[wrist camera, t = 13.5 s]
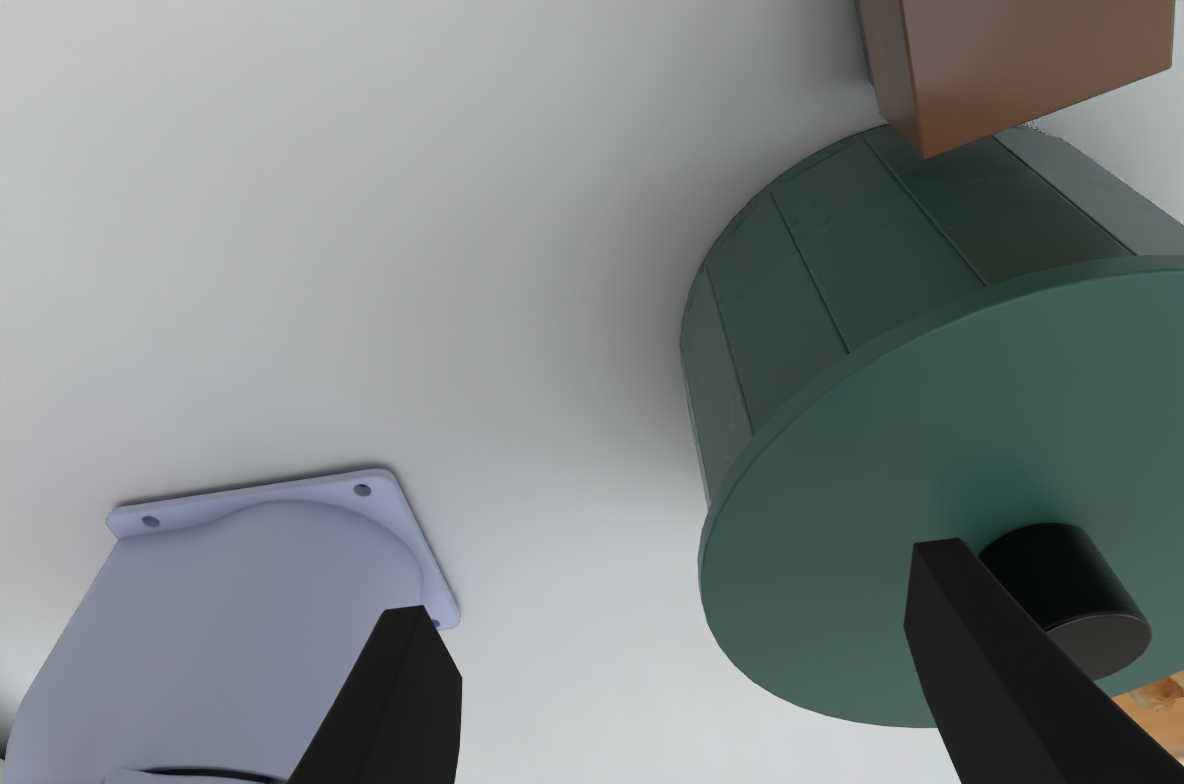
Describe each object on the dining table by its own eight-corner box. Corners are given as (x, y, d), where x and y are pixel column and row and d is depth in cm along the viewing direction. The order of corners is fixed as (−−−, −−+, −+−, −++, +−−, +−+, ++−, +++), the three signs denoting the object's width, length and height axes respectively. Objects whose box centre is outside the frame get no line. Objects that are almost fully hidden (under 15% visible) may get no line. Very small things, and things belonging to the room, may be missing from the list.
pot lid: (718, 712, 20) (738, 840, 18) (656, 308, 12) (677, 437, 10) (1231, 653, 19) (1329, 782, 16) (1521, 164, 11) (1789, 271, 9)
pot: (700, 502, 25) (740, 723, 19) (654, 165, 18) (694, 350, 12) (1070, 450, 24) (1233, 667, 18) (1178, 69, 17) (1503, 220, 11)
